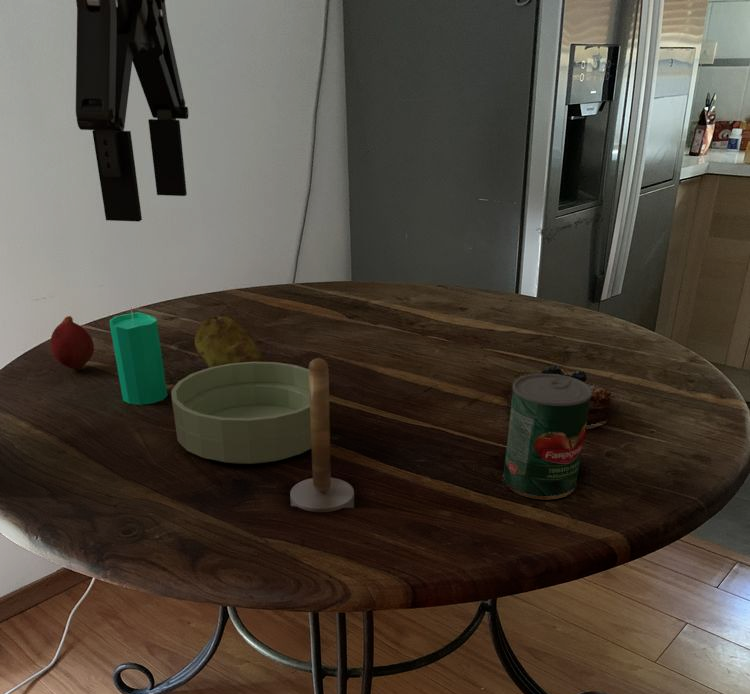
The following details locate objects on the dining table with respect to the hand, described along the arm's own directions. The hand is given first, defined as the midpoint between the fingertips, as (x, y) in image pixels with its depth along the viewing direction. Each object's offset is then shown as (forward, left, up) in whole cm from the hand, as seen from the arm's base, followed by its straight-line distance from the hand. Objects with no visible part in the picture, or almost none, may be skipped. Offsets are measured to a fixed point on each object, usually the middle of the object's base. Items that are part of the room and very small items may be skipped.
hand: (150, 207), depth 66 cm
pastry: (+43, +21, -28) cm, 55 cm away
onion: (-25, +32, -28) cm, 49 cm away
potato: (-2, +31, -28) cm, 42 cm away
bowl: (+5, +12, -28) cm, 31 cm away
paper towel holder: (+15, -5, -28) cm, 32 cm away
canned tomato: (+38, +2, -28) cm, 47 cm away
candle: (-12, +23, -28) cm, 38 cm away
